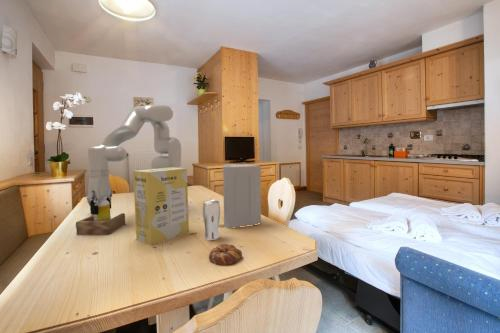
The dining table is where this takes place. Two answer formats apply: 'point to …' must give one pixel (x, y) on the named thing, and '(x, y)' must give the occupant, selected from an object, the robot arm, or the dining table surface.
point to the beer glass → (211, 219)
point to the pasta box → (160, 204)
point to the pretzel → (225, 254)
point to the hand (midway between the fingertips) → (101, 211)
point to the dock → (99, 225)
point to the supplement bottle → (103, 210)
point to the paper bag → (241, 195)
